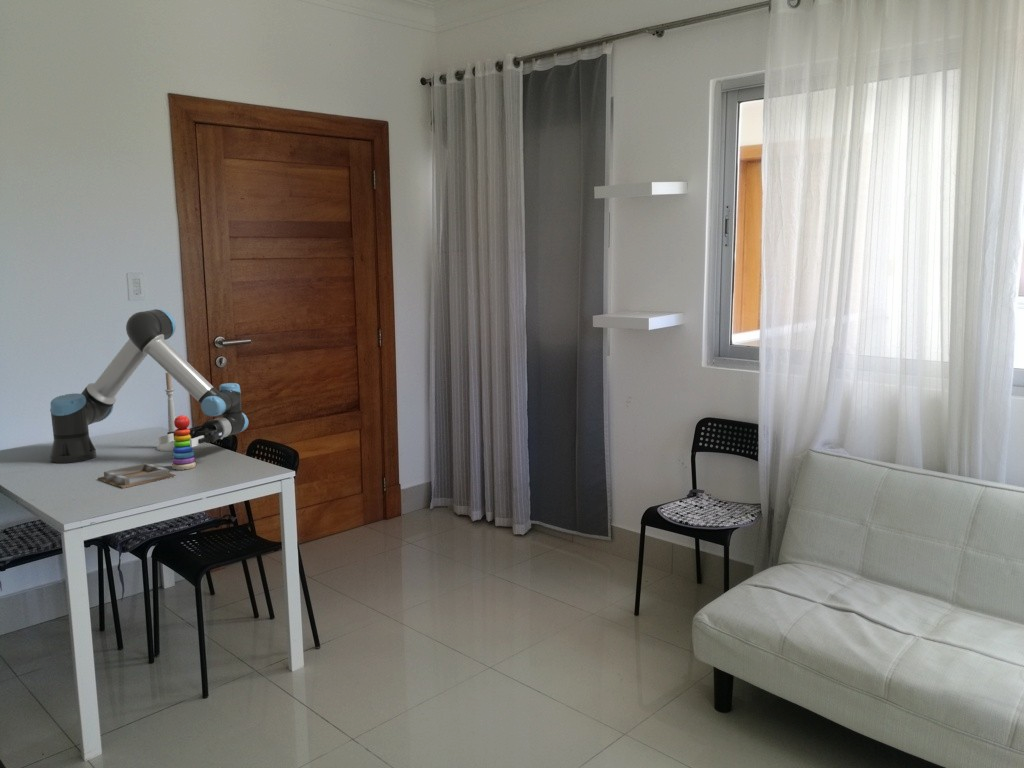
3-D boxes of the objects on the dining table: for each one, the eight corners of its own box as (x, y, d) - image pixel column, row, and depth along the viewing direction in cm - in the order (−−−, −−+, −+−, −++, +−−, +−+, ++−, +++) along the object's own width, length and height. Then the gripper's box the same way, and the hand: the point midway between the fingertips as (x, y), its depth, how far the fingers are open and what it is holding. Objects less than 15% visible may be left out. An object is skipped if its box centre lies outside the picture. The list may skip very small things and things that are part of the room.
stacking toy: (188, 471, 290) (183, 418, 287) (167, 470, 291) (163, 417, 288) (200, 465, 297) (196, 413, 294) (180, 464, 299) (176, 413, 296)
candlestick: (149, 450, 321) (142, 373, 316) (169, 443, 333) (163, 368, 329) (179, 451, 318) (172, 374, 314) (198, 444, 331) (192, 369, 326)
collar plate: (97, 479, 280) (97, 472, 280) (149, 468, 294) (149, 461, 294) (122, 488, 269) (122, 480, 268) (175, 476, 282) (175, 469, 282)
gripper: (244, 441, 306) (205, 454, 286) (189, 437, 314) (147, 450, 294) (242, 421, 305) (203, 433, 285) (187, 417, 313) (145, 429, 293)
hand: (175, 442), depth 289 cm, fingers open, 12 cm apart
